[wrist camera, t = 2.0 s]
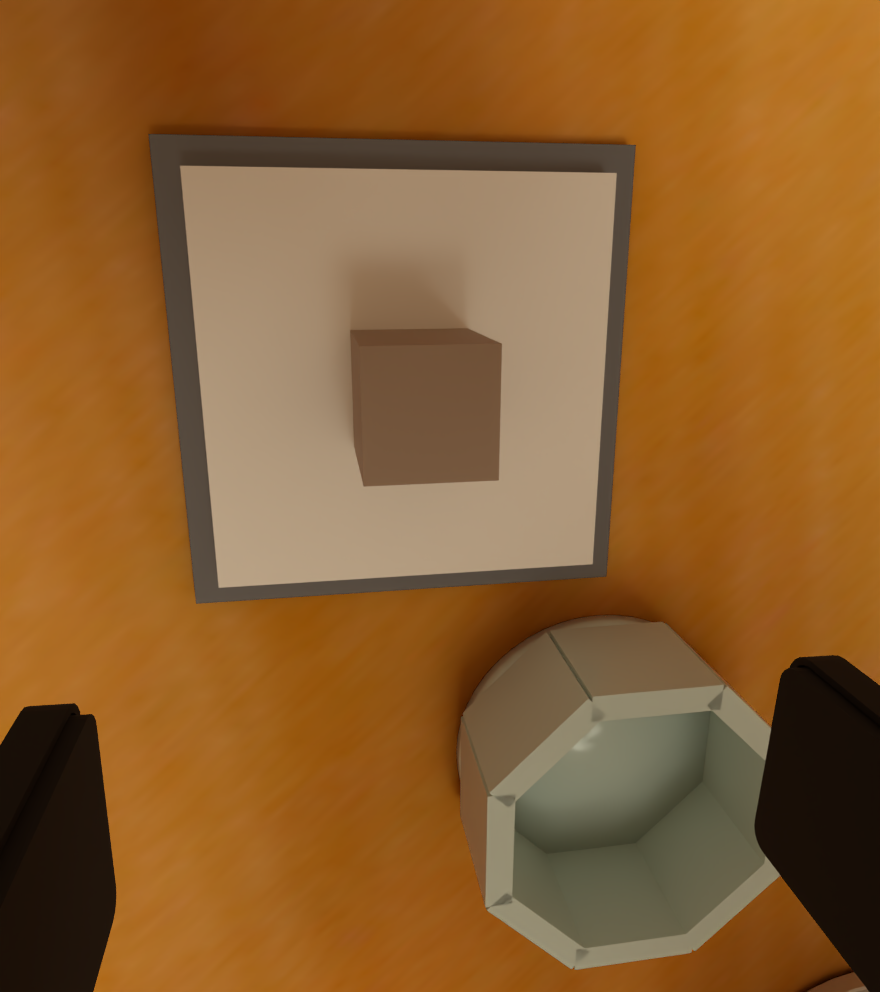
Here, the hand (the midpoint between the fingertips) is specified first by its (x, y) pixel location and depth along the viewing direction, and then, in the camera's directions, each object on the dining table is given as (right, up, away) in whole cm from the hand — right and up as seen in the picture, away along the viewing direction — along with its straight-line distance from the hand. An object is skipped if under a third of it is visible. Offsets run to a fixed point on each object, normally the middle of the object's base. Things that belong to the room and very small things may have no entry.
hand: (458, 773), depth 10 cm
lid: (-1, +8, +17) cm, 19 cm away
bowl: (+6, -7, +24) cm, 26 cm away
